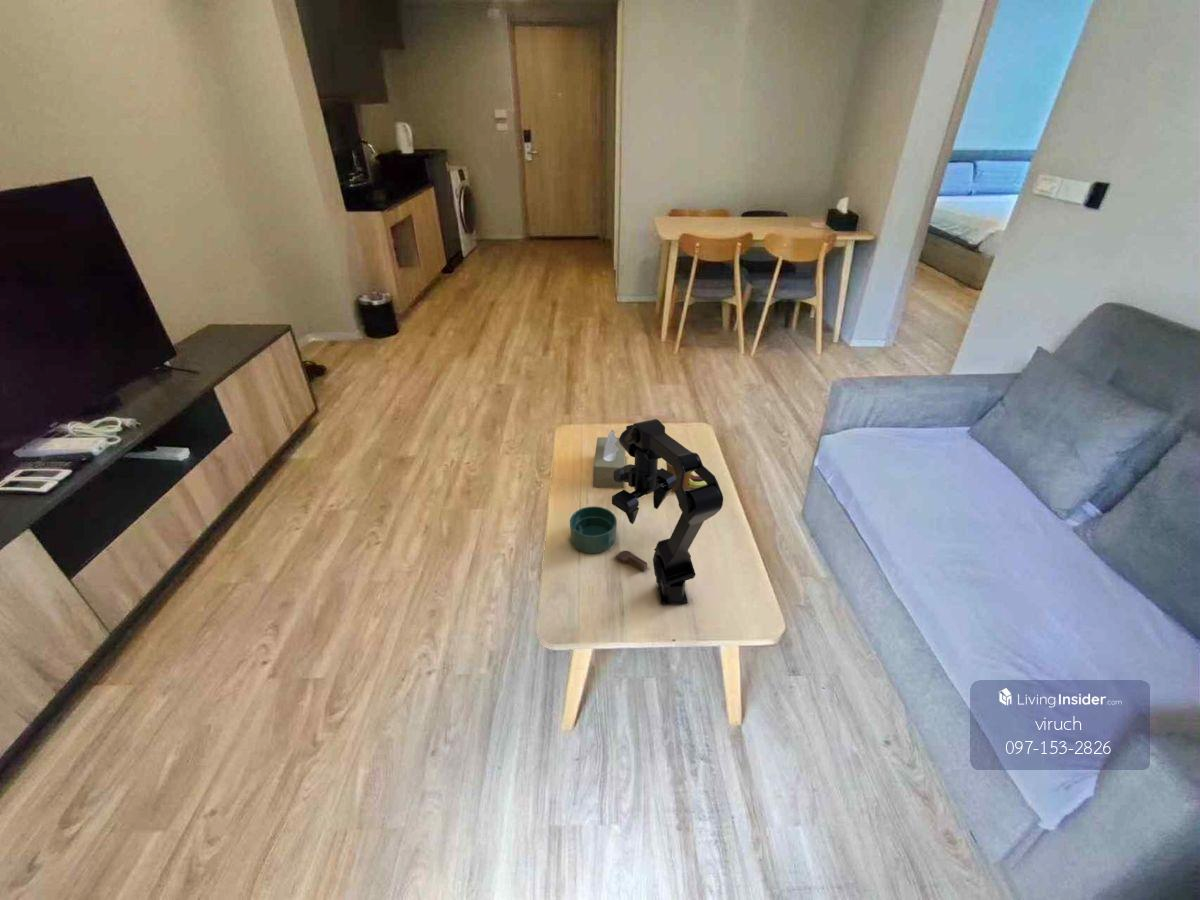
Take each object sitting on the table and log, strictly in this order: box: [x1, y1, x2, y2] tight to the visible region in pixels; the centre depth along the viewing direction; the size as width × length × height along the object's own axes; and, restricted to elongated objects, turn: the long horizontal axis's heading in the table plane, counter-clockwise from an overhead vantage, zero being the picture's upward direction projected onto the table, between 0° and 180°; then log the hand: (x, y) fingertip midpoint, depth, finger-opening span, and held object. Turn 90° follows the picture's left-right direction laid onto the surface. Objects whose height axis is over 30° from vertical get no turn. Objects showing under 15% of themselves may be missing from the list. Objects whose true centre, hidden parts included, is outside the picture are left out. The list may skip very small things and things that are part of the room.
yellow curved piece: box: [687, 471, 719, 489], centre depth 175 cm, size 8×3×25 cm
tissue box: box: [592, 429, 627, 489], centre depth 176 cm, size 19×10×16 cm, turn 176°
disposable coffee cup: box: [665, 449, 691, 492], centre depth 170 cm, size 10×10×12 cm
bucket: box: [569, 505, 618, 554], centre depth 151 cm, size 13×13×6 cm
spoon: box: [618, 550, 648, 572], centre depth 144 cm, size 9×4×2 cm, turn 48°
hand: (643, 515), depth 142 cm, fingers open, 9 cm apart
